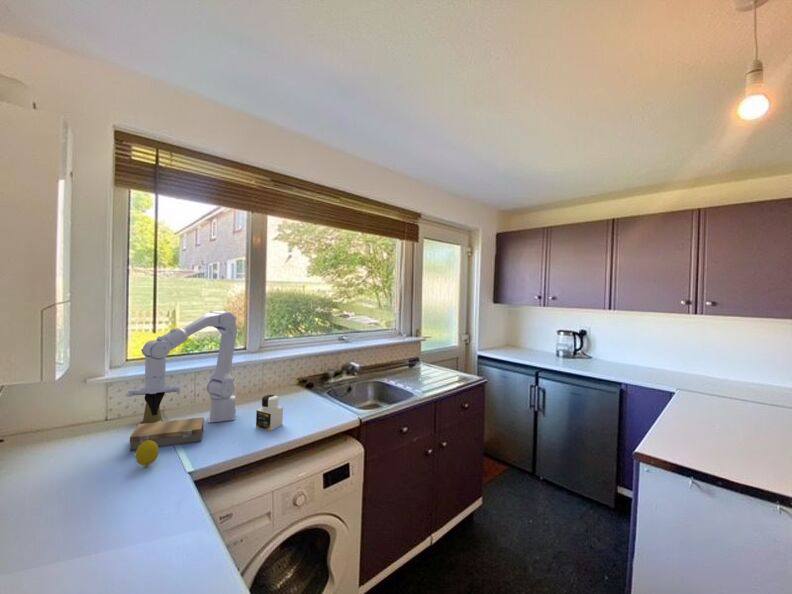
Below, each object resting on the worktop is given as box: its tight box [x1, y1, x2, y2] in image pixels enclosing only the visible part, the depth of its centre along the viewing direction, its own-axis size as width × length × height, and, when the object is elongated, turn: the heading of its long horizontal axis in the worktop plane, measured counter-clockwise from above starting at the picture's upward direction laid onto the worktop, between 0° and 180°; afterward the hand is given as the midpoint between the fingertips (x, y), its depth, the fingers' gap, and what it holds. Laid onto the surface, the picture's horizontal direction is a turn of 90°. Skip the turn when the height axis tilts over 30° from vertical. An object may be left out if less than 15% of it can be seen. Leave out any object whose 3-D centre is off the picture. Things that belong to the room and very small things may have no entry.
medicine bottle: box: [255, 394, 284, 432], centre depth 133 cm, size 7×7×12 cm
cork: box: [142, 401, 162, 424], centre depth 133 cm, size 6×6×11 cm
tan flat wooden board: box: [129, 417, 205, 443], centre depth 118 cm, size 20×11×2 cm, turn 115°
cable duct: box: [129, 421, 205, 452], centre depth 118 cm, size 20×10×3 cm, turn 115°
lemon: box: [135, 440, 159, 467], centre depth 102 cm, size 6×6×8 cm
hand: (154, 414), depth 117 cm, fingers closed
